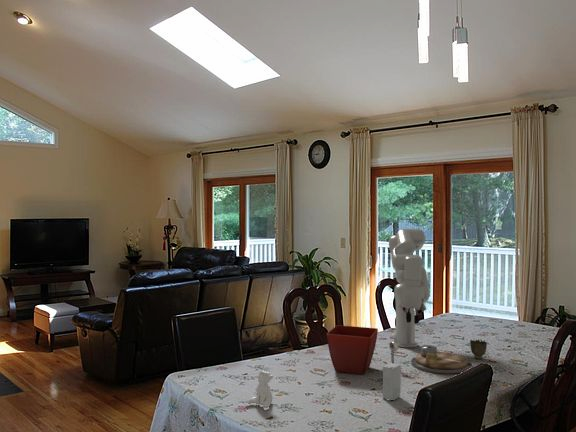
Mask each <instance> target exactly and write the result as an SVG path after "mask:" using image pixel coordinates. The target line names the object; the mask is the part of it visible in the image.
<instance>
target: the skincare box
mask: <svg viewBox="0 0 576 432" xmlns="http://www.w3.org/2000/svg"><path fill="white" fill-rule="evenodd" d="M401 367H402V366H401V364H398V363H394V364H393V363H391V362H390V363H388V364H386V365H384V366H382V399H383V398H385V399H389V400H394V401H395V399H396V398H397V399H399V398H400V397H401ZM398 397H399V398H398ZM385 399H384V400H385ZM397 399H396V400H397Z"/></svg>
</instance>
